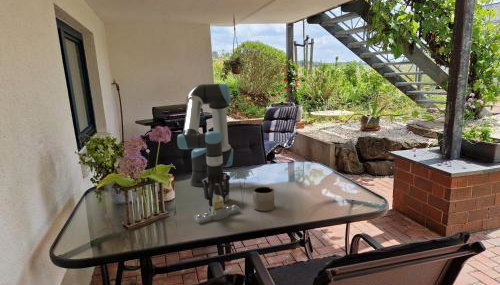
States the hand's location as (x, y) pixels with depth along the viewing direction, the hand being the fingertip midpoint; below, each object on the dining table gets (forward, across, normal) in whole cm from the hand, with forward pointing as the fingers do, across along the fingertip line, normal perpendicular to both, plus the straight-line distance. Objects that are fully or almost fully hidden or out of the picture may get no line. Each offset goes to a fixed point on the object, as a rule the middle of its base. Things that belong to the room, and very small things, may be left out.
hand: (217, 210), depth 154 cm
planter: (+3, +24, -5) cm, 25 cm away
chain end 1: (+3, -6, 0) cm, 6 cm away
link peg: (+3, 0, 0) cm, 3 cm away
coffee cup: (+3, +12, +18) cm, 22 cm away
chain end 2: (+3, +5, 0) cm, 6 cm away
